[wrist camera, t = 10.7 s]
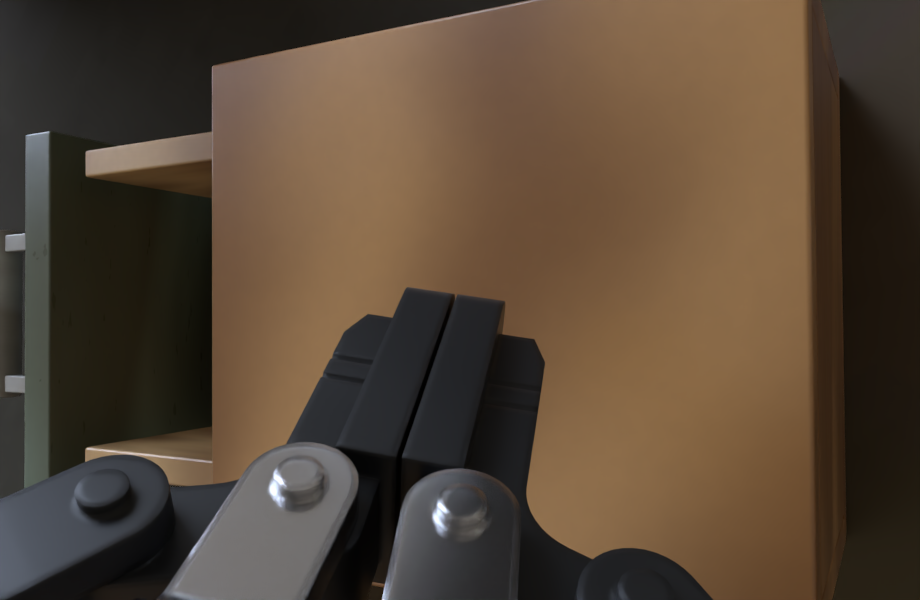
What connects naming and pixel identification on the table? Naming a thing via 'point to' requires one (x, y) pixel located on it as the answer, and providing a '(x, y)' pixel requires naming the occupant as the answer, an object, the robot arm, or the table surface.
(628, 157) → the cabinet
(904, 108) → the table surface
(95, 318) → the drawer
